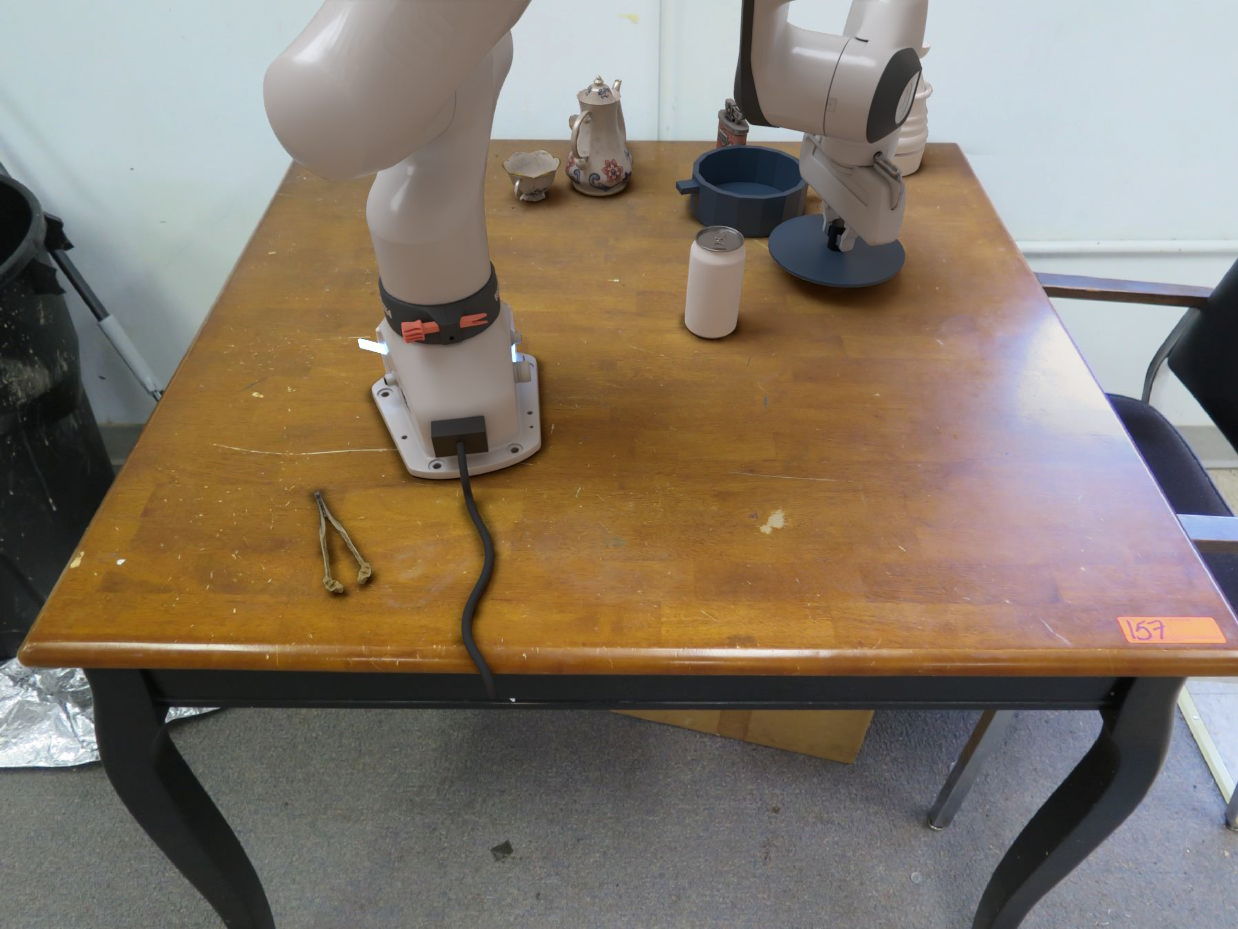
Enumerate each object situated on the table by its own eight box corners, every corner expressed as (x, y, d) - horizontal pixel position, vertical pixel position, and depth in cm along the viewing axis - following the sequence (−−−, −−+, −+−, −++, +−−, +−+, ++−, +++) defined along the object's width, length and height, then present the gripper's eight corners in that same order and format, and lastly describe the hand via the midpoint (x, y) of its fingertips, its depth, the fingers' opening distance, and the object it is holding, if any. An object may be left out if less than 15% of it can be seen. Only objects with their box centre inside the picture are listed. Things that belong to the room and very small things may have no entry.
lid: (929, 279, 100) (940, 247, 97) (803, 301, 97) (809, 269, 94) (861, 213, 112) (868, 182, 109) (746, 231, 109) (750, 199, 105)
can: (736, 311, 100) (747, 225, 91) (736, 342, 96) (748, 254, 87) (685, 307, 100) (692, 222, 92) (683, 338, 96) (690, 251, 87)
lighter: (709, 156, 131) (715, 94, 124) (728, 153, 131) (735, 91, 124) (728, 177, 125) (735, 114, 118) (748, 174, 126) (756, 111, 119)
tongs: (329, 490, 78) (324, 477, 77) (378, 583, 71) (373, 571, 70) (287, 507, 77) (281, 494, 75) (333, 604, 70) (327, 592, 68)
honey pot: (929, 154, 132) (964, 37, 119) (905, 184, 124) (939, 63, 111) (856, 136, 136) (881, 22, 123) (828, 164, 129) (852, 46, 116)
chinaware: (582, 144, 137) (569, 40, 126) (669, 153, 131) (664, 45, 119) (496, 216, 120) (472, 103, 108) (592, 231, 113) (578, 112, 102)
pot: (838, 225, 115) (846, 186, 111) (696, 247, 111) (700, 207, 106) (788, 174, 126) (794, 137, 122) (658, 192, 122) (659, 154, 117)
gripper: (931, 171, 87) (899, 279, 97) (843, 101, 101) (823, 202, 111) (881, 178, 86) (853, 287, 96) (799, 106, 99) (782, 208, 109)
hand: (836, 240), depth 103 cm, fingers closed on lid, 2 cm apart
